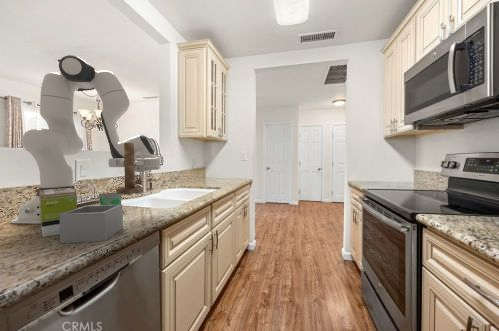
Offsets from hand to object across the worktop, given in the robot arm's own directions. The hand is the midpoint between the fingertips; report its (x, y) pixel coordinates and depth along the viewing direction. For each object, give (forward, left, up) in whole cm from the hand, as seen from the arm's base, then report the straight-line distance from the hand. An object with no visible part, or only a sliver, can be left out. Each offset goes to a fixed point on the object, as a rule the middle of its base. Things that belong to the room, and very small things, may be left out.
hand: (128, 163), depth 89 cm
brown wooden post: (0, +1, -12) cm, 12 cm away
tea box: (-24, -3, -25) cm, 35 cm away
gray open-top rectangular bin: (-7, -12, -24) cm, 28 cm away
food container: (-16, +23, -25) cm, 37 cm away
